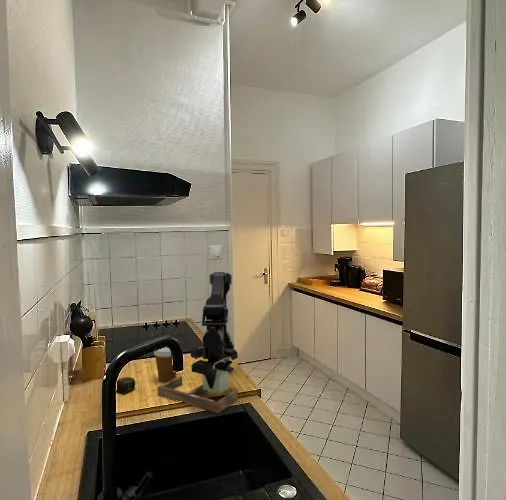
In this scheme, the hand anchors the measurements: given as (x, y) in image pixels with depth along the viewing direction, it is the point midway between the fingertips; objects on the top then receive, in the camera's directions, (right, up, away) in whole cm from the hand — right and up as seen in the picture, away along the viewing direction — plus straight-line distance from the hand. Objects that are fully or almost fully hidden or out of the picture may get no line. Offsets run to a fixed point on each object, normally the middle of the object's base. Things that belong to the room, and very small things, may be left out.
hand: (215, 385), depth 125 cm
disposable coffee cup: (-20, -4, +17) cm, 27 cm away
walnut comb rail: (-6, -4, +2) cm, 8 cm away
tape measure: (-33, -5, +7) cm, 34 cm away
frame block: (0, -1, 0) cm, 1 cm away
